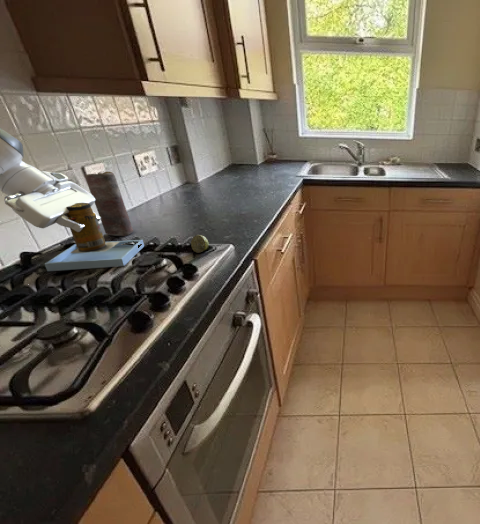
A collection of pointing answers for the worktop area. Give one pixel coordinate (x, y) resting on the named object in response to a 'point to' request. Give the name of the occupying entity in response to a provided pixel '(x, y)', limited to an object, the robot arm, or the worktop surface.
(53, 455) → the worktop surface
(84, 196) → the robot arm
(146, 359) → the worktop surface
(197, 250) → the lime
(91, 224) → the condiment
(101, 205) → the candle
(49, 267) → the blue tray
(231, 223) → the worktop surface
